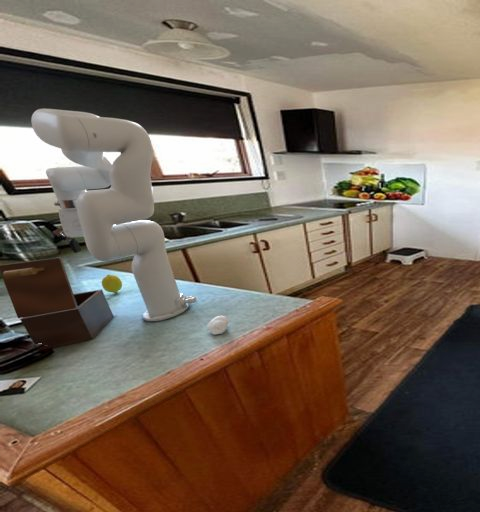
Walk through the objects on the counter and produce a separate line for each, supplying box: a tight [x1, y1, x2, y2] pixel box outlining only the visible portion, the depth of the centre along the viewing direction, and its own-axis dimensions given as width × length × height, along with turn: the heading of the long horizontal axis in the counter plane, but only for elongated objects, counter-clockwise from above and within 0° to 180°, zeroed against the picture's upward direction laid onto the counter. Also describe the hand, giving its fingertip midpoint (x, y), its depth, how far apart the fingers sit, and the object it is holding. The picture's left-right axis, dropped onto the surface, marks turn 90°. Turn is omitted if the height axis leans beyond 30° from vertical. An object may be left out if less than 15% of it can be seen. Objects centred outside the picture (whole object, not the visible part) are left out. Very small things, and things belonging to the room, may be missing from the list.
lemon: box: [101, 274, 123, 294], centre depth 107 cm, size 6×6×8 cm
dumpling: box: [206, 315, 229, 336], centre depth 81 cm, size 7×5×4 cm
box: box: [19, 288, 115, 352], centre depth 82 cm, size 14×12×10 cm
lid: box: [0, 257, 78, 319], centre depth 71 cm, size 14×12×5 cm
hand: (95, 249), depth 102 cm, fingers open, 9 cm apart
